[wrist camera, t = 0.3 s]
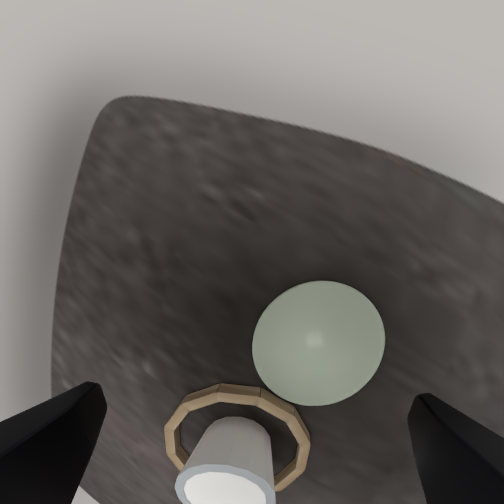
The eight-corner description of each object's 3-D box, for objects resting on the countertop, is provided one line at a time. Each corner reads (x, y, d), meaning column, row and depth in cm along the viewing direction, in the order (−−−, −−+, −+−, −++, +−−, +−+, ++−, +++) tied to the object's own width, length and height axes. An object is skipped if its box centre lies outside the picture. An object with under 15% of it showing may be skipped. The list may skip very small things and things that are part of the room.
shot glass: (185, 447, 24) (160, 499, 17) (218, 396, 23) (197, 448, 16) (253, 479, 23) (245, 534, 16) (294, 431, 23) (296, 489, 16)
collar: (256, 500, 23) (254, 511, 22) (150, 444, 24) (144, 453, 22) (335, 428, 22) (338, 438, 21) (213, 357, 23) (209, 365, 21)
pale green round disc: (329, 420, 22) (330, 424, 22) (227, 361, 23) (226, 364, 22) (406, 325, 21) (409, 327, 21) (303, 253, 22) (304, 253, 21)
